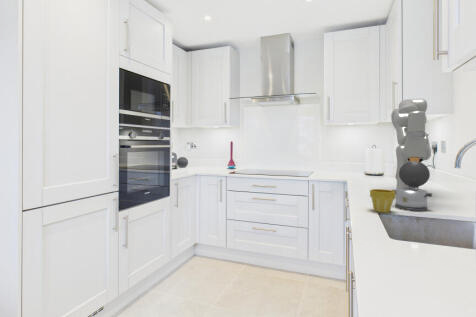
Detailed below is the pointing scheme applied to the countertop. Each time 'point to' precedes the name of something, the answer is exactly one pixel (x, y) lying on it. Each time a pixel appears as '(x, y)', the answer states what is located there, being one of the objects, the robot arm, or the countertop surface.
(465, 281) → the countertop surface
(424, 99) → the robot arm
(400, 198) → the cooker
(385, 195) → the plant pot
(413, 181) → the lid
